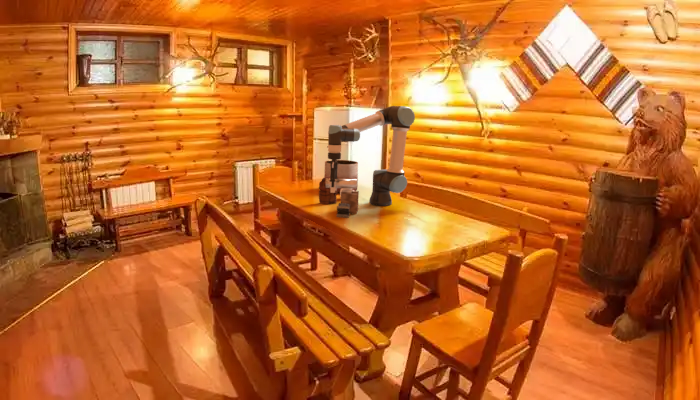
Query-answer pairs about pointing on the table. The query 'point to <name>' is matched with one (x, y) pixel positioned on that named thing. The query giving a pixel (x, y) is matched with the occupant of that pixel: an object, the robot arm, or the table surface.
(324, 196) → the wooden figurine
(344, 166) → the planter
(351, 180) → the axle
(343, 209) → the v block
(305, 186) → the table surface
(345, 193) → the brown open box
